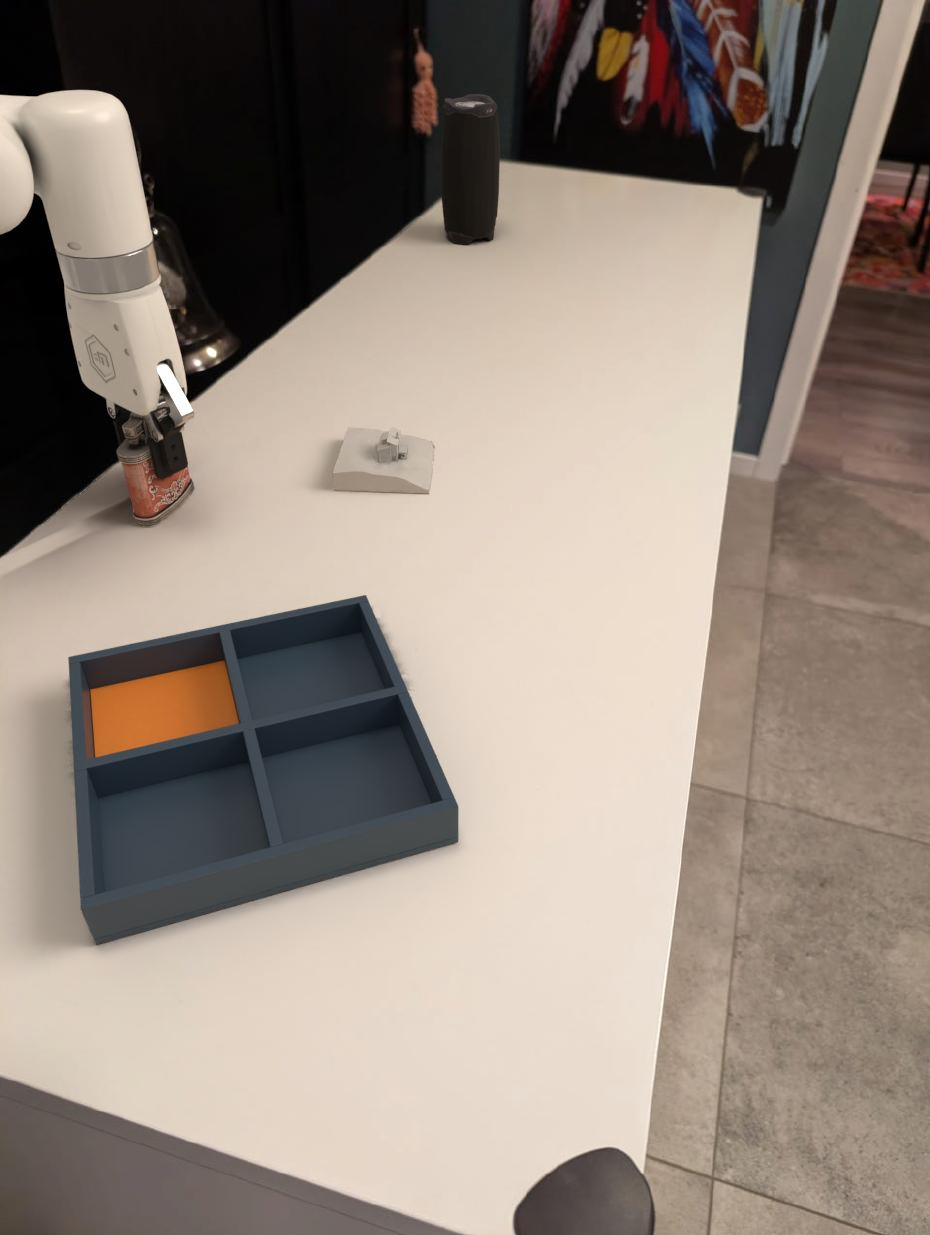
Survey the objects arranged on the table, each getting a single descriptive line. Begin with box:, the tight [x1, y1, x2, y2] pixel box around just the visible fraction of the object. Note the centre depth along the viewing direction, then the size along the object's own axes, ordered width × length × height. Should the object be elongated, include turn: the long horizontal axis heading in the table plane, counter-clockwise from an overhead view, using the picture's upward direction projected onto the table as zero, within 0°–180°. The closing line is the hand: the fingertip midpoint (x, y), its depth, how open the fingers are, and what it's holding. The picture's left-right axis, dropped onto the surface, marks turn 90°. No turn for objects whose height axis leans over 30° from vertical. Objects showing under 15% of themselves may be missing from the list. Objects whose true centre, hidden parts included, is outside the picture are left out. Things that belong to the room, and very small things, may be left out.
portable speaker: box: [440, 93, 501, 246], centre depth 145 cm, size 9×9×20 cm
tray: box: [67, 594, 459, 946], centre depth 66 cm, size 22×22×4 cm
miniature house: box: [331, 426, 436, 494], centre depth 96 cm, size 12×11×4 cm
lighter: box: [116, 395, 195, 528], centre depth 89 cm, size 8×3×10 cm, turn 162°
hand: (155, 461), depth 89 cm, fingers closed on lighter, 4 cm apart
